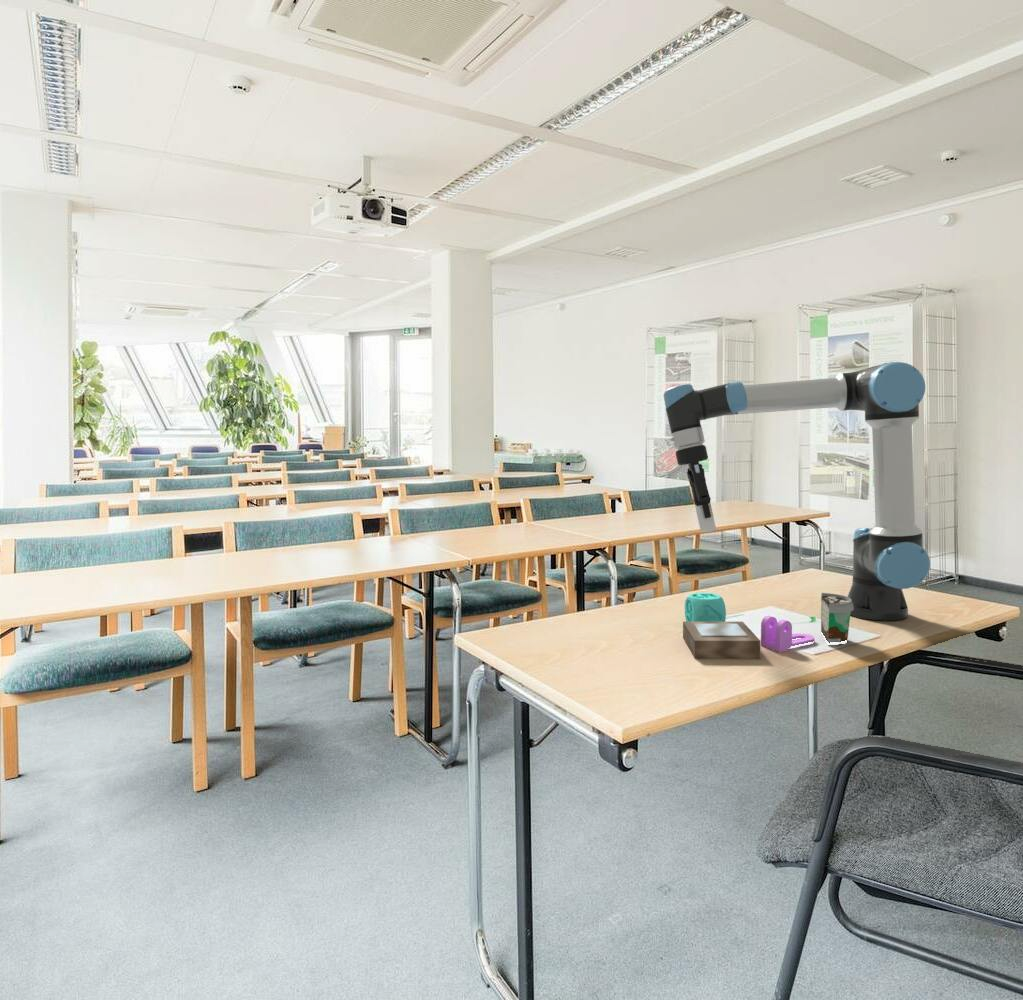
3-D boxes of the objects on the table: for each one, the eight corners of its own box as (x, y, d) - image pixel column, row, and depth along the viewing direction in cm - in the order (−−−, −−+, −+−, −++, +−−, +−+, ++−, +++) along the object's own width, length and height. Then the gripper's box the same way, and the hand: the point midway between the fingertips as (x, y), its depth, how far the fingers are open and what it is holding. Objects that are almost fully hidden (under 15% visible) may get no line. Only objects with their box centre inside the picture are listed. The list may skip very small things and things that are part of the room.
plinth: (742, 638, 180) (742, 620, 180) (760, 658, 164) (760, 639, 164) (682, 637, 181) (683, 620, 181) (694, 658, 165) (694, 639, 165)
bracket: (779, 652, 169) (780, 622, 168) (760, 646, 174) (761, 616, 173) (819, 643, 175) (820, 614, 175) (799, 637, 180) (800, 609, 179)
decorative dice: (726, 630, 187) (726, 598, 186) (694, 632, 186) (694, 600, 185) (714, 622, 195) (714, 591, 194) (684, 623, 194) (684, 593, 193)
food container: (857, 649, 170) (859, 605, 169) (828, 647, 172) (829, 604, 171) (847, 634, 182) (848, 593, 181) (820, 632, 184) (821, 592, 183)
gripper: (672, 453, 202) (689, 531, 201) (677, 446, 177) (696, 535, 176) (701, 447, 201) (718, 526, 200) (709, 439, 176) (729, 529, 175)
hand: (708, 530), depth 188 cm, fingers open, 13 cm apart
